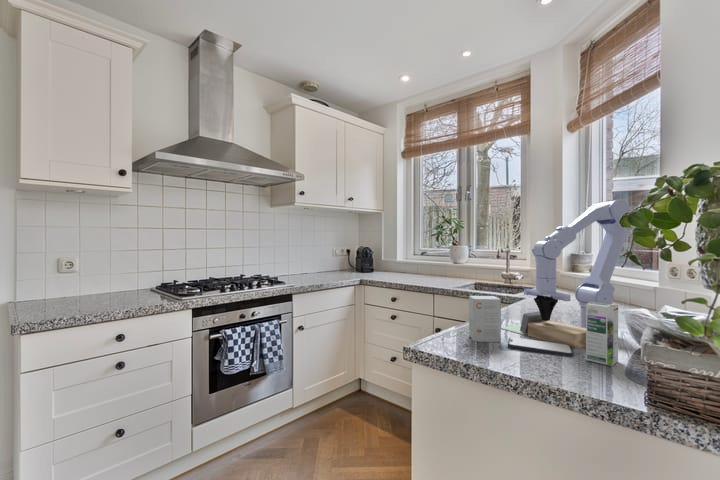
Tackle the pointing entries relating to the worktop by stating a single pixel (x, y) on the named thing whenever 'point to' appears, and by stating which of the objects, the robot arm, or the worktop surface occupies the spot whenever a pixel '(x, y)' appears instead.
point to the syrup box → (602, 333)
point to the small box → (485, 318)
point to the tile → (529, 320)
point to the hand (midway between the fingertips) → (545, 320)
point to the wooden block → (558, 333)
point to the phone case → (540, 347)
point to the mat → (514, 329)
